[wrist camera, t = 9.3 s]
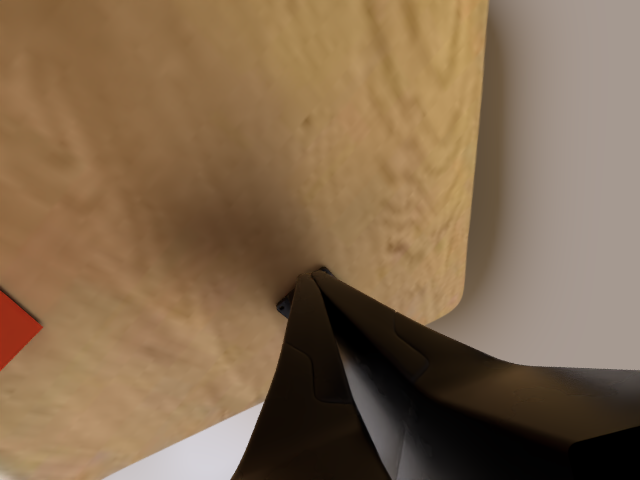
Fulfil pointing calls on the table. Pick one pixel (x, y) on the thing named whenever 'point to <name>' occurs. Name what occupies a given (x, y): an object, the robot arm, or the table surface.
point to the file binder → (14, 329)
